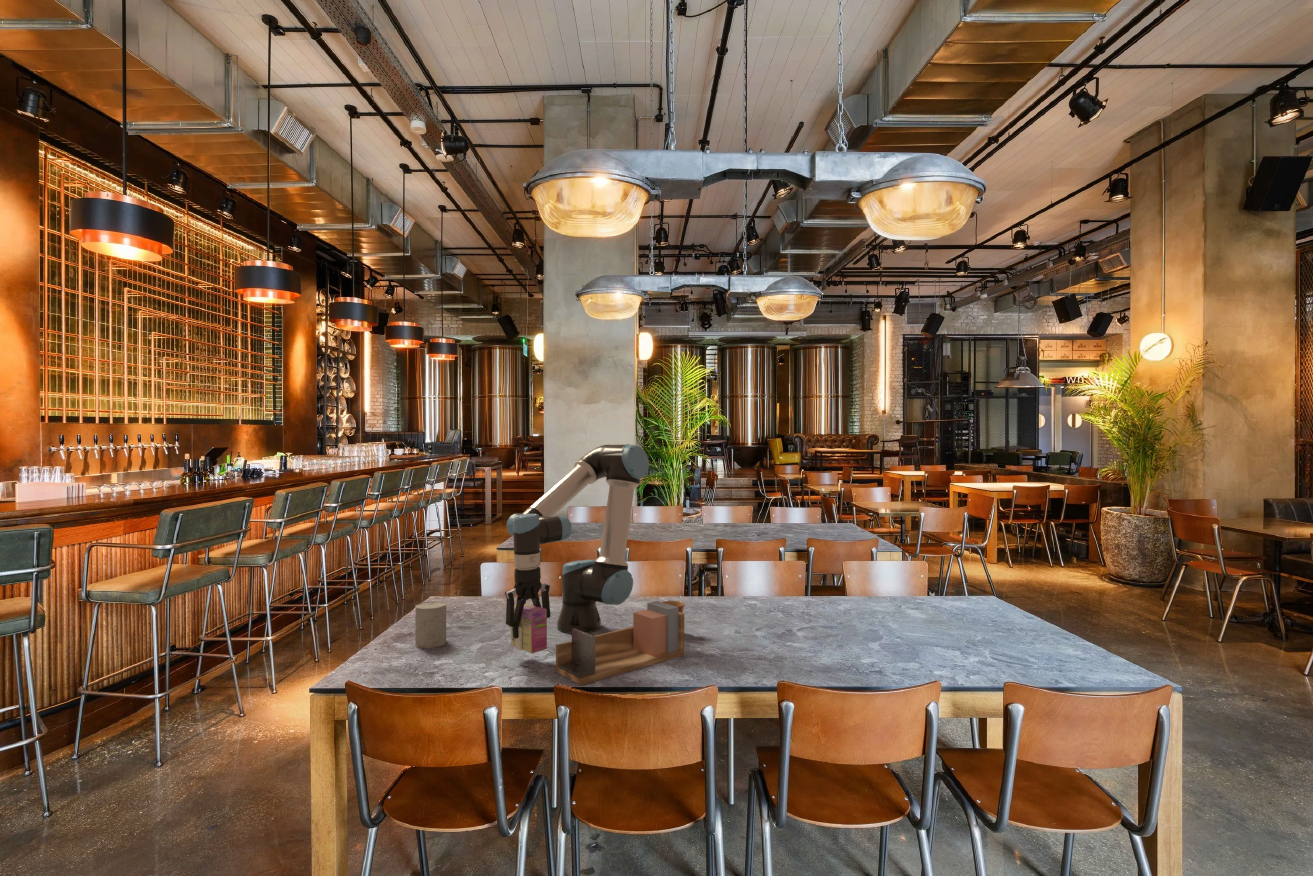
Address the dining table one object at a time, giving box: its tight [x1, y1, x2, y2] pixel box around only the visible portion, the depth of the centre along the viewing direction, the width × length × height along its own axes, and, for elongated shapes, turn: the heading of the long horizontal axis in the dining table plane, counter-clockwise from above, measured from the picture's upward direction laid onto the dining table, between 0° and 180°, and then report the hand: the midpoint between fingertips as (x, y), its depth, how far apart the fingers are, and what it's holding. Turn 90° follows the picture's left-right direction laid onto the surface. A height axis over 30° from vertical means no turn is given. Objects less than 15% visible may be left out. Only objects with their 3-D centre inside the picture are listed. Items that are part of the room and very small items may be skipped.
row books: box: [632, 600, 679, 656], centre depth 189 cm, size 10×10×13 cm
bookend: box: [559, 628, 595, 678], centre depth 171 cm, size 10×5×10 cm, turn 40°
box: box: [510, 602, 548, 655], centre depth 183 cm, size 10×6×12 cm, turn 47°
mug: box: [662, 600, 686, 613], centre depth 208 cm, size 12×9×10 cm
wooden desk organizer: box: [555, 612, 685, 686], centre depth 182 cm, size 13×37×12 cm, turn 130°
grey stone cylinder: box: [414, 600, 448, 649], centre depth 200 cm, size 10×10×12 cm
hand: (529, 645), depth 183 cm, fingers closed on box, 6 cm apart
